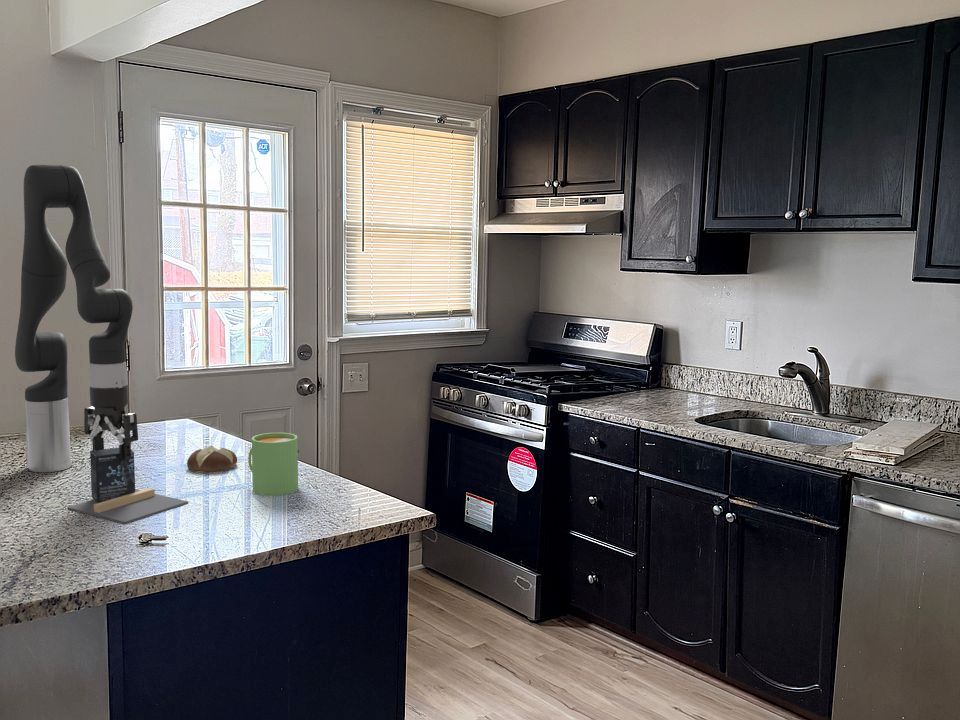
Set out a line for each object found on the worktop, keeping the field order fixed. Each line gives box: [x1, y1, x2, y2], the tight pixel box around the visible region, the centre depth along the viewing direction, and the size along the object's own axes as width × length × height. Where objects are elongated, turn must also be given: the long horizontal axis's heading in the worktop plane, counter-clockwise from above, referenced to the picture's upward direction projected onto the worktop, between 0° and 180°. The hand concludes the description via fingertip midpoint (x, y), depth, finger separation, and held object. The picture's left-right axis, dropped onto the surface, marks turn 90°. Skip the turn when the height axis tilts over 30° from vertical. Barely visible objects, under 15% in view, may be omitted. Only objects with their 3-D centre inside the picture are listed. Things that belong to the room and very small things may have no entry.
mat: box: [66, 487, 189, 525], centre depth 183 cm, size 18×16×2 cm
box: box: [89, 447, 136, 503], centre depth 186 cm, size 8×6×11 cm
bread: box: [186, 445, 238, 473], centre depth 214 cm, size 11×11×5 cm
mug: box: [247, 432, 300, 497], centre depth 197 cm, size 13×10×12 cm
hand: (112, 457), depth 185 cm, fingers open, 8 cm apart
